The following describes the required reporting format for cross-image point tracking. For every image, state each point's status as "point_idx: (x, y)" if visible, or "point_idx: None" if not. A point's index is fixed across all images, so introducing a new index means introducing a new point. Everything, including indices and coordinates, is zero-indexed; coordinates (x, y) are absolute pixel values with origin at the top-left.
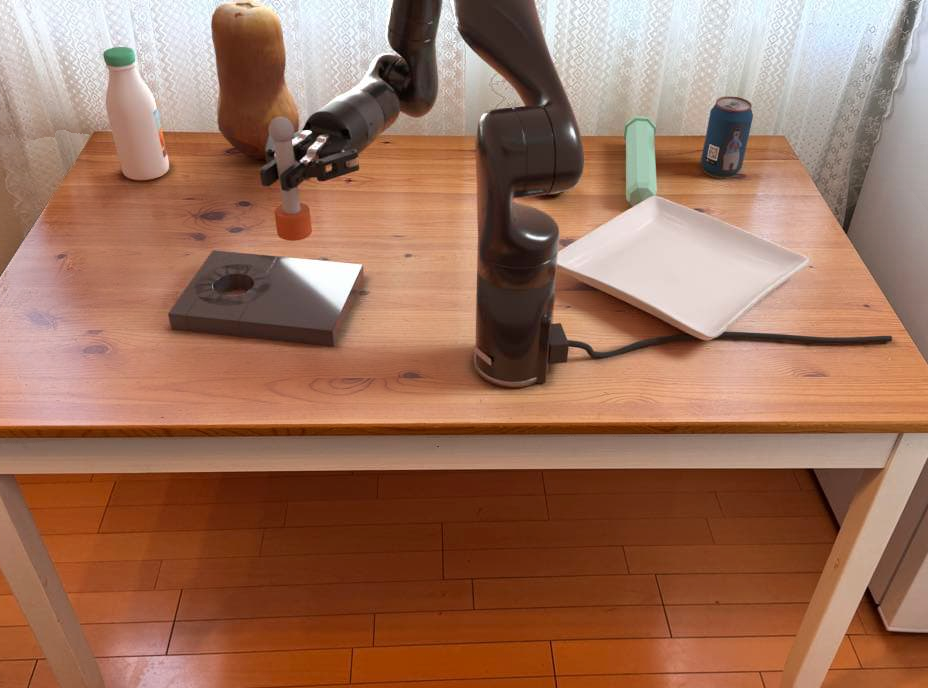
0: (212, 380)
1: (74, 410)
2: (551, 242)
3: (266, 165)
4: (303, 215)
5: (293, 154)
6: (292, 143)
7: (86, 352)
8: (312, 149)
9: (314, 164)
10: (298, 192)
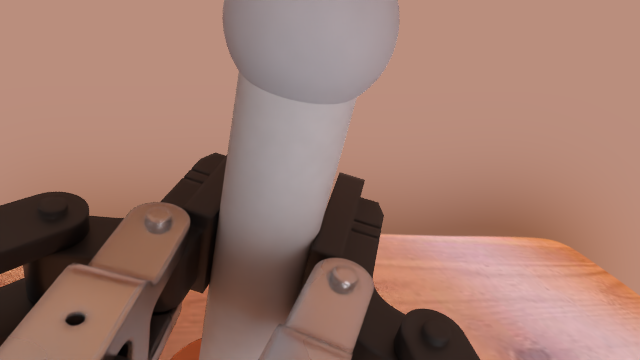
0: None
1: (455, 252)
2: None
3: (357, 199)
4: (175, 355)
5: (226, 162)
6: (235, 107)
7: (540, 351)
8: (103, 276)
9: (97, 237)
10: (202, 340)
